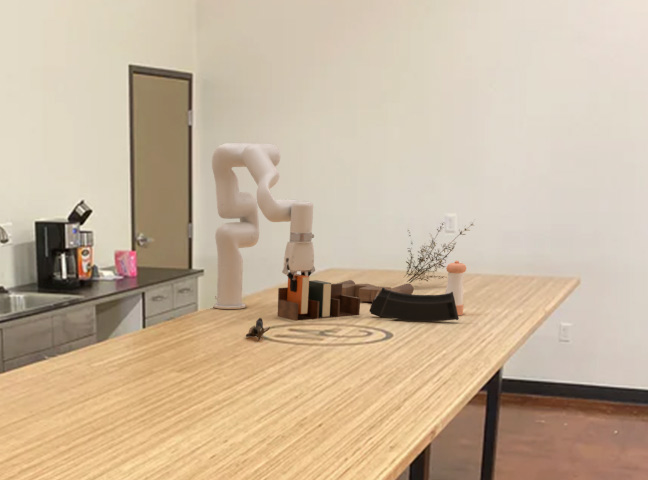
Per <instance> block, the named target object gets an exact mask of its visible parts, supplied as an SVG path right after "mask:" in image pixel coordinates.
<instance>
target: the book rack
mask: <svg viewBox="0 0 648 480" xmlns="http://www.w3.org/2000/svg"><path fill="white" fill-rule="evenodd" d="M339 283H340V282H339ZM287 289H288V286H286V287H278V289H277V291H278V292H277V317H279V318H283V319H288V320H292V321H295V322H297V321H308V320H310V321H311V320H320V319H321V320H322V319H330V318H331V319H332V318H343V317H354V316H355V317H356V316H360V310H361V309H360V306H361V301H360V298H359V297H351V296H346V295H342V284H341V283H340V284H337V283H331V299H330V317H319V301H314V300H310V299H308V311H307V314H298V303H295V302H290V301H287Z"/></svg>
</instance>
